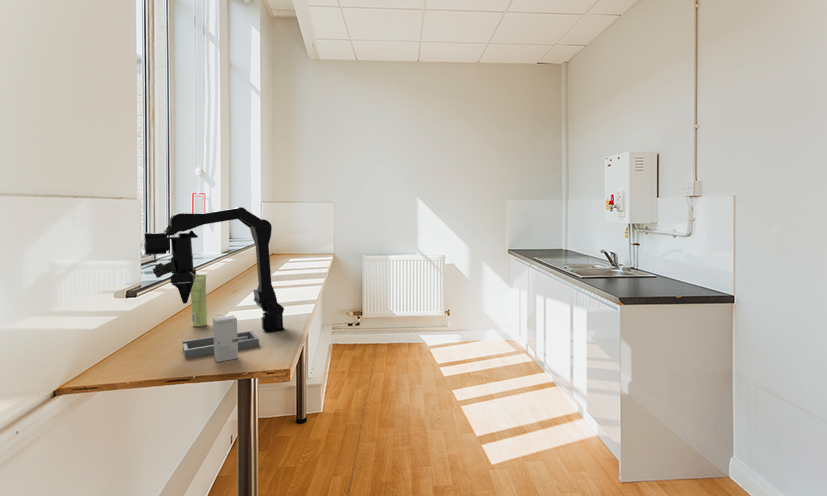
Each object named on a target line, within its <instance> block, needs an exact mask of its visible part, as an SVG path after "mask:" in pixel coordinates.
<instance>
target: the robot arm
mask: <svg viewBox="0 0 827 496" xmlns="http://www.w3.org/2000/svg"><path fill="white" fill-rule="evenodd" d="M168 220H169V221H168V223H169V224H168V226H167V227H166V228H165V229H164V231H163V232H154V233H151V232H145V233H143V234H144V243H143V246H144V247H143V248H144V254H145V256H152V255H153V256H154V255H156V256H157V255H166V254H167V252H168V251H170V250H171V252H172V253H171V254H172V256H171V257H170V261H167V262H164V263H162V262H159V263H157V264H155V265H154V266H155V267H153V268H152V272H153V274H154V275H155V277H156V279H158V278H161V277H162V276H165V275H167V274H170V273H171V276H170V284H171V286H174V287H175V288H177V290H178V293H179V295H180V298H181V301H182V304H188V300H189V297H190V296H191V289H192V286H193V283H194V280H195V277H196V274H197V269H196V267H195V266H194V259H193V258H194V254H193V244H192V243H193V242H192V239H195V238H199V236H198V234H196V233H195V232H194V231H193V229H196V228H198V227H200V226H203V225H209V224H215V223H222V222H228V221H234V220H238V221H240V222H241V223H242V224H244V225H245V226H246V227H248V228H249V230H250V233H251V238H252V240H253V243H254V245H255V253H256V256H255V257H256V265H257V266H256V267H257V280H258V284H257V285H258V286H257V289H253V290H252V291H253V296H254V297H253V302H254V303H256V305H257V307H259V308H260V309H261V310H262V316H261V329H262V330H263V331H264V332H265V333H272V332H278V331H284V330H285V327H284V320H283V313H284V311H285V307H284V306H282V305H281V304H279V303H278V300H277V295H276V292H275V290H274V287H273V285H272V276H271V274H272V273H271V272H272V270H271V260H270V259H271V258H270V246H269V245H270V241H271V237H272V230H273V229H272V228H273V227H272V224H271V222H269V221H268V220H267V219H262V218H260V217H258V216H257V215H255V214H254V213H252V212H249V210H247V209H246V208H245V207H239V206H238V207H235V208H229V209H224V210H223V209H222V210H217V211H209V212H202V213H201V212H200V213H187V212H186V213H185V212H184V213H182V212H181V213H179V212H178V213H174V214H173V215H171V216H170V218H169V219H168ZM186 231H189V232H186ZM182 232H183V233H182ZM176 234H178V235H177V236H175V235H176ZM170 240H171V241H170ZM170 242H171V244H170Z"/></svg>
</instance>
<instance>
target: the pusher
mask: <svg viewBox="0 0 827 496" xmlns="http://www.w3.org/2000/svg"><path fill="white" fill-rule="evenodd" d="M247 339H248V336H244V337H238V341H241V340H247Z"/></svg>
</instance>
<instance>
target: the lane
mask: <svg viewBox="0 0 827 496" xmlns="http://www.w3.org/2000/svg"><path fill="white" fill-rule="evenodd" d="M244 336H248V339H247V340H241V341H238V351H239V350H244V349H250V348H251V349H252V348H257V347H260V338H259V336H257V335H256V333H255V331H253V330H248V331H246V330H245V331H241V332H237V337H244ZM182 350H183V354H184V359H192V358H198V357H203V356H204V357H205V356H209V355H214V336H207V337H200V338H195V339H187V340H186V339H185V340H182Z"/></svg>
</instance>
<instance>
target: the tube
mask: <svg viewBox="0 0 827 496" xmlns="http://www.w3.org/2000/svg"><path fill="white" fill-rule="evenodd" d="M206 288H207V275H206V274H197V273H196V277H195V280H194V283H193V286H192V289H191V292H190V302H191V321H192V327H195V328H196V327H197V328H198V327H205V326H207V325H208V315H207V311H208V310H207V289H206Z"/></svg>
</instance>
